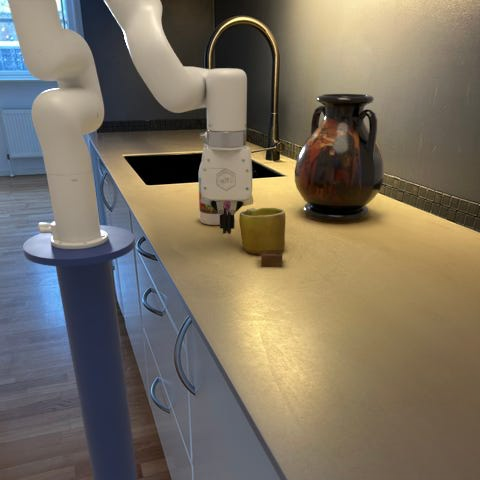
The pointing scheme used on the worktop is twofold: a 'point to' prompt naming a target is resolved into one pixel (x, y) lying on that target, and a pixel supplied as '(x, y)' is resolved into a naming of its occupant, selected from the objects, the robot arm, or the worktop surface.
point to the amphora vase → (340, 160)
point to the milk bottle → (209, 207)
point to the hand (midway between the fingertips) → (227, 231)
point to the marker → (271, 258)
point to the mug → (262, 229)
